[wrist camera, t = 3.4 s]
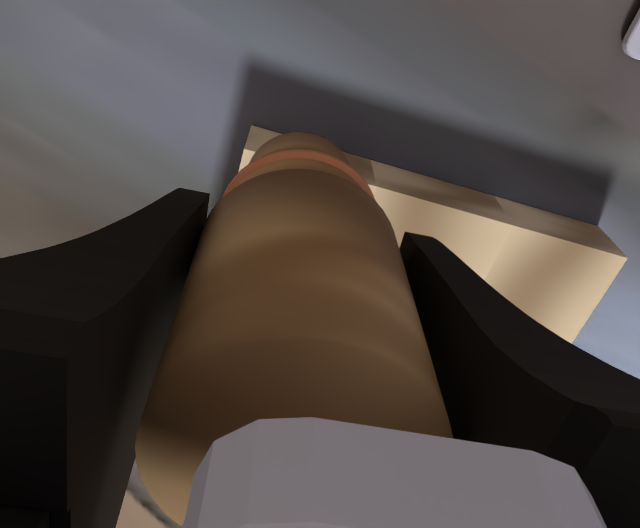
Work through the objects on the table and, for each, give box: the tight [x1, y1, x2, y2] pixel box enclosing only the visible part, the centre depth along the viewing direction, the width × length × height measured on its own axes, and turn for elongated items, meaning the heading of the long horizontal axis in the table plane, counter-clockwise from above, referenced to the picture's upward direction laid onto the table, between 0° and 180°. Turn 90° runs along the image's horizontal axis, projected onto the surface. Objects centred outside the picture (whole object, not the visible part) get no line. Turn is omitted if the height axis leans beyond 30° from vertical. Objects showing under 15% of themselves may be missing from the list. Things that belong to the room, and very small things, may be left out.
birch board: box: [238, 125, 628, 344], centre depth 24 cm, size 14×14×2 cm
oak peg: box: [135, 132, 453, 526], centre depth 11 cm, size 4×4×9 cm
